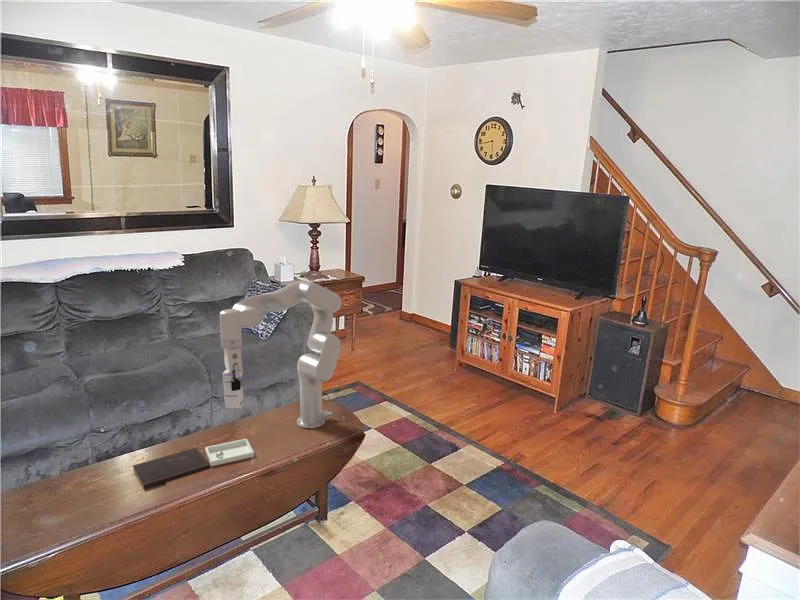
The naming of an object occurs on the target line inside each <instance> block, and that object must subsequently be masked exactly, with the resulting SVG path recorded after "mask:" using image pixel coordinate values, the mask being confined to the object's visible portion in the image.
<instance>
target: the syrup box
mask: <svg viewBox="0 0 800 600" xmlns="http://www.w3.org/2000/svg"><path fill="white" fill-rule="evenodd" d="M233 372H235V371H232V373H233ZM234 376H235V374H234V375H233V377H234ZM239 376H240V388H241V389H240V390H236V391H232V389H231V381H232V377H231V374H230V373H229V372H228V371H227V369H226V368H225V370H224V371H223V372H222V383H223V396H224V407H225V408H226V409H227V408H228V409H241V406H243V404H244V402H245V395H244V393H245V392H244V391H245V390H244V378H243V377H244V376H243V372H242V373H241V372H239Z"/></svg>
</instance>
